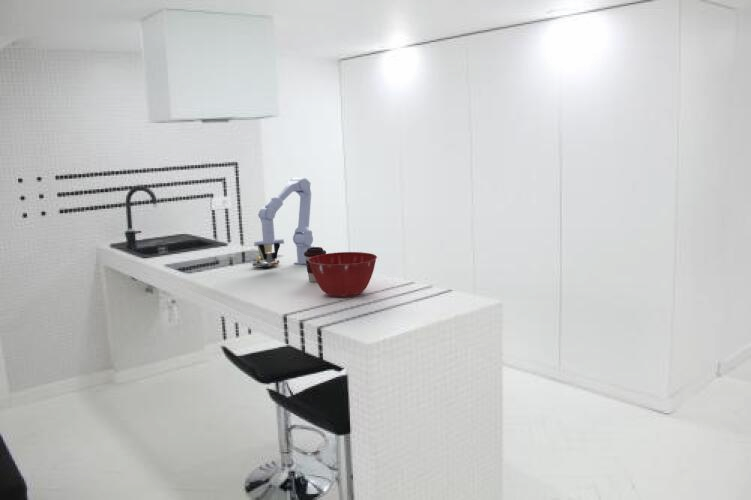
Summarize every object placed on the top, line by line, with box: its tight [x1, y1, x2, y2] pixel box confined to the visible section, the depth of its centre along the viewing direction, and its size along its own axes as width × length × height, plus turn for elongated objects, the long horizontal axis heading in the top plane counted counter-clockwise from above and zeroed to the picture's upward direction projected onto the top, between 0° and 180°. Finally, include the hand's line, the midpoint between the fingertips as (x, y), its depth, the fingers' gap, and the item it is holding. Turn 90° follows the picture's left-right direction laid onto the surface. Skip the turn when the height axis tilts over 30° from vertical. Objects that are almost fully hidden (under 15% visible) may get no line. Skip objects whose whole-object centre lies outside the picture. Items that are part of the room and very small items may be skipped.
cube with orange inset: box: [265, 251, 276, 262], centre depth 332 cm, size 4×4×4 cm
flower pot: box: [257, 243, 274, 260], centre depth 366 cm, size 9×9×9 cm
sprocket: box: [251, 255, 280, 268], centre depth 342 cm, size 14×14×4 cm
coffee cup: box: [304, 246, 327, 283], centre depth 304 cm, size 10×10×15 cm
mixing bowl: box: [308, 251, 378, 298], centre depth 277 cm, size 28×28×15 cm
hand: (270, 259), depth 332 cm, fingers closed on cube with orange inset, 5 cm apart
